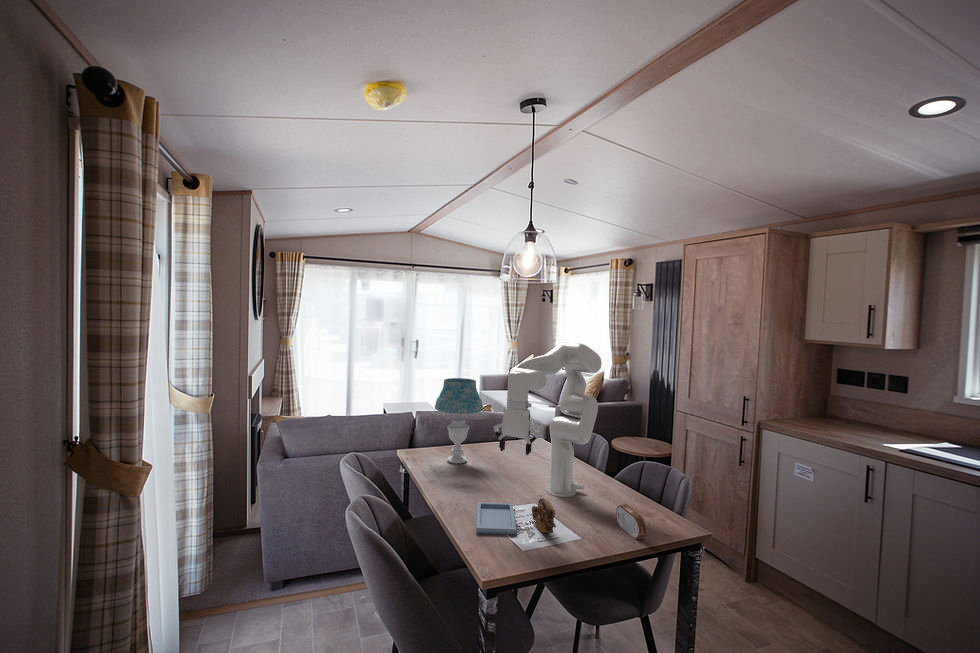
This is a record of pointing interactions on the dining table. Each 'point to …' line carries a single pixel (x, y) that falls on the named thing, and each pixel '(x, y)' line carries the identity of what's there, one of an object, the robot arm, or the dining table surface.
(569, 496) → the robot arm
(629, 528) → the tin
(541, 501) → the wooden carving
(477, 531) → the tray
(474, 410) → the table lamp
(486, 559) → the dining table surface
